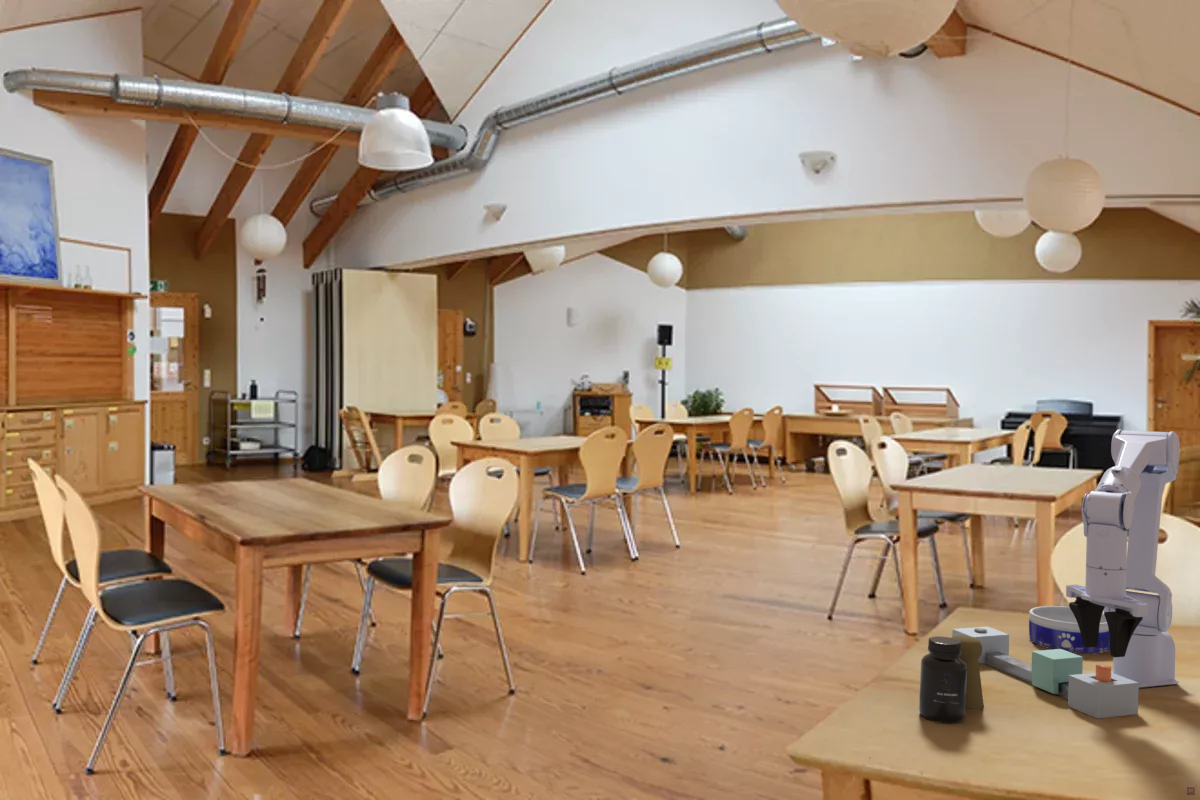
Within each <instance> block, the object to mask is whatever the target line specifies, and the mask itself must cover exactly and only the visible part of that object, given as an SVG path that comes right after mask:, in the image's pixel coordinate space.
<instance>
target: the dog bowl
mask: <svg viewBox="0 0 1200 800" xmlns="http://www.w3.org/2000/svg"><path fill="white" fill-rule="evenodd" d="M1028 631H1029V632H1028V636H1029V640H1031V641H1033V642H1034V643H1033V642H1032V643H1033V644H1035V643H1036V644H1035V645H1037V644H1038V645H1037V646H1039V645H1041V646H1040V647H1042V646H1044V647H1043V648H1045V647H1048V648H1047V649H1049V648H1052V649H1051V650H1053V649H1062V650H1065V651H1068V652H1071V653H1072V652H1073V654H1084V653H1096V654H1102V653H1101V652H1105V653H1107V652H1106V651H1108V652H1110V651H1109V650H1110V634H1109V629H1108V624H1107V621H1106V619H1105V617H1104V612H1103V613H1102V616H1101V620H1100V625H1099V638H1098V644H1097V647H1088V648H1087V647H1084V645H1083V641H1082V637H1081V633H1080V629H1079V626H1078V623H1077V620H1076V618H1075V616H1074V614H1073V612H1072V610H1071V609H1070V607H1069V606H1063V605H1043V606H1036V607H1033V608H1031V609H1030V610H1029V611H1028Z"/></svg>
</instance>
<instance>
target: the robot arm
mask: <svg viewBox="0 0 1200 800" xmlns="http://www.w3.org/2000/svg"><path fill="white" fill-rule="evenodd" d="M1180 444H1181V443H1180V438H1179V436H1178V434H1177V433H1176V432H1175V431H1171V430H1170V431H1169V432H1168V431H1152V430H1151V431H1148V430H1147V431H1146V430H1126V429H1125V430H1124V429H1123V428H1122V429H1120V428H1118V429H1117V430H1116V431H1115V432H1114V433H1113V435H1112V438H1111V447H1110V449H1111V450H1110V452H1111V453H1110V454H1111V457H1112V460H1113V462H1114V466H1112V467H1110V468H1108V469H1106V471H1105V472H1104V473H1103V475H1102V476H1101V479H1100V481H1099V482H1098V484H1097V486H1096V488H1095V490H1091V491H1090V493H1085V494H1084V496H1083V499H1082V503H1081V518H1082V523H1083V536H1084V537H1086V548H1085V550H1086V551H1085V586H1083V585H1079V584H1066V586H1065V587H1066V588H1065V597H1067V598H1071V599H1072V598H1074V599H1075V600H1074V601H1071V602H1069V603H1068V607H1070V609H1071V610H1072V612H1073V614H1074V616H1075V618H1076V620H1077V623H1078V626H1079V629H1080V633H1081V637H1082V641H1083V645H1084V647H1087V648H1088V647H1097V644H1098V638H1099V625H1100V620H1101V616H1102V613H1104V617H1105V619H1106V621H1107V624H1108V629H1109V634H1110V651H1109V653H1110V657H1113V658H1112V661H1113V662H1112V663H1113V664H1112V670H1111V673H1114V674H1117V675H1119V676H1122V677H1125V678H1128V679H1130V680H1133V681H1136V682H1138V683H1139V689H1141V688H1149V687H1150V688H1151V687H1157V686H1159V687H1160V686H1168V685H1178V684H1179V680H1177V679H1175V678H1176V677H1175V676H1176V675H1175V674H1176V643H1175V641H1174V639H1173V637H1172V635H1171V634H1170V633H1169V632H1168V630H1169V629H1170V628H1171V625H1172V619H1173V603H1172V601H1173V599H1172V597H1173V593H1172V591H1171V589H1170V587H1169V586H1168V585H1167V584H1166V583H1165V582H1164V581H1162V580H1161V579H1160V578H1158V577H1157V576H1156V571H1157V569H1156V568H1157V559H1158V547H1159V537H1160V525H1161V514H1162V503H1163V502H1162V501H1163V494H1164V491H1165V488H1166V485H1167V484H1168V483H1172V482H1174V481H1176V480H1177V475H1178V474H1179V464H1180V451H1181V450H1180V449H1181V447H1180ZM1130 590H1131V591H1130ZM1138 591H1139V592H1138ZM1143 592H1146V593H1143ZM1151 593H1154V594H1151Z"/></svg>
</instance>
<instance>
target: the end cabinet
mask: <svg viewBox="0 0 1200 800" xmlns="http://www.w3.org/2000/svg"><path fill="white" fill-rule="evenodd" d="M1139 689H1140V688H1139V683H1138V682H1136V681H1133V680H1130V679H1128V678H1125V677H1122V676H1119V675H1117V674H1114V673H1111V682H1101V681H1098V680H1096V672H1087V673H1082V674H1076V675H1069V684H1068V699H1067V706H1068V707H1070V708H1071V709H1075V710H1076V711H1079V712H1081V713H1084V714H1086V715H1087V716H1090V717H1093V718H1095V719H1104V718H1114V717H1124V716H1133V715H1138V714H1139V692H1140V691H1139Z"/></svg>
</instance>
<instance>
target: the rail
mask: <svg viewBox="0 0 1200 800" xmlns="http://www.w3.org/2000/svg"><path fill="white" fill-rule="evenodd" d="M985 664H986V665H987V664H988V666H989V667H992V668H994V667H995V669H996V670H999V671H1002V672H1004V673H1006V674H1008V675H1011V676H1013V677H1016V678H1017V679H1020V680H1023V681H1024V682H1027V683H1029V684H1032V674H1031V670H1032V664H1030V663H1028V662H1025V661H1023V660H1020V659H1018V658H1015V657H1013V656H1010V655H1009V656H1008V655H1006V654H1003V653H1001V652H994V653H986V663H985ZM1068 684H1069V682H1062V683H1058V694H1056V695H1058V696H1060V697H1062V698H1065V699H1066V700H1068Z"/></svg>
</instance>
